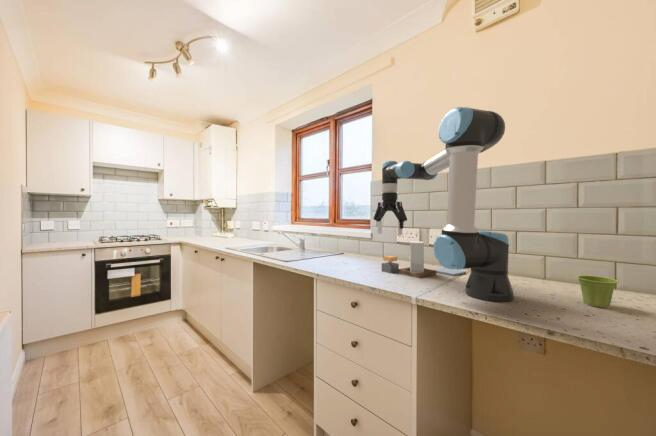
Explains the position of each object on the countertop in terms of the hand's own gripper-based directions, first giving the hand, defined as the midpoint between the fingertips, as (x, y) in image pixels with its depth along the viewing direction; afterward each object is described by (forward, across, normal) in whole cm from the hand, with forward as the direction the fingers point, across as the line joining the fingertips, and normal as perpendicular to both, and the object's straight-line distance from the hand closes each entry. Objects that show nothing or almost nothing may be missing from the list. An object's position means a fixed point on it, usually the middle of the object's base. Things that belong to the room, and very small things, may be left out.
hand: (389, 234), depth 138 cm
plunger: (+17, 0, -1) cm, 17 cm away
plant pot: (+19, -73, -16) cm, 78 cm away
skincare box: (+19, -11, -8) cm, 23 cm away
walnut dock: (+19, -11, -7) cm, 23 cm away
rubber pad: (+19, -20, -22) cm, 35 cm away
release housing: (+19, 0, -1) cm, 19 cm away
